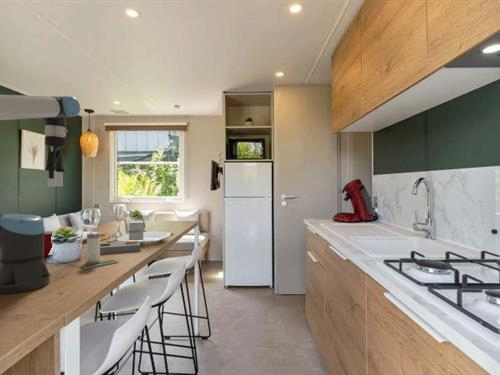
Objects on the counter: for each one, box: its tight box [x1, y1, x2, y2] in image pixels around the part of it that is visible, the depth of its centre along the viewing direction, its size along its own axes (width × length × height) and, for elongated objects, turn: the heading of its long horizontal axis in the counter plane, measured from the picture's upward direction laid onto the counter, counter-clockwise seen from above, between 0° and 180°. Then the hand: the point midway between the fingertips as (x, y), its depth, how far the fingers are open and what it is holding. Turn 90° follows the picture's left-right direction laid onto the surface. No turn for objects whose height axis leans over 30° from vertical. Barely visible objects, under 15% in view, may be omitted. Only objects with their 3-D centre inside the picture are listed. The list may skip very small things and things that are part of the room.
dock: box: [100, 240, 141, 255], centre depth 147 cm, size 22×12×4 cm, turn 114°
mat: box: [69, 259, 119, 271], centre depth 126 cm, size 14×14×1 cm
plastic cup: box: [44, 230, 55, 260], centre depth 136 cm, size 11×11×12 cm
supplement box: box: [128, 220, 145, 241], centre depth 169 cm, size 7×7×13 cm
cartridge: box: [86, 232, 101, 264], centre depth 126 cm, size 5×5×12 cm
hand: (55, 186), depth 126 cm, fingers open, 13 cm apart
